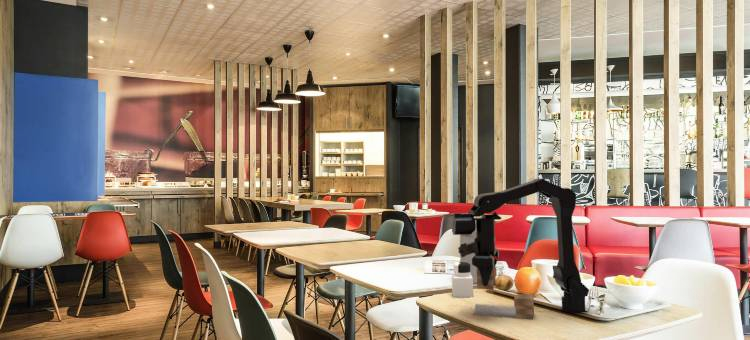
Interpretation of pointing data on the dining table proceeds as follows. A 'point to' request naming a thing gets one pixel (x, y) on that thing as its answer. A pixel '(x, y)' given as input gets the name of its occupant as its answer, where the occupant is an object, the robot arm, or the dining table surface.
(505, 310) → the rail
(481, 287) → the block
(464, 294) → the medicine bottle
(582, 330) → the dining table surface
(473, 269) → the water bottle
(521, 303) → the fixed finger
